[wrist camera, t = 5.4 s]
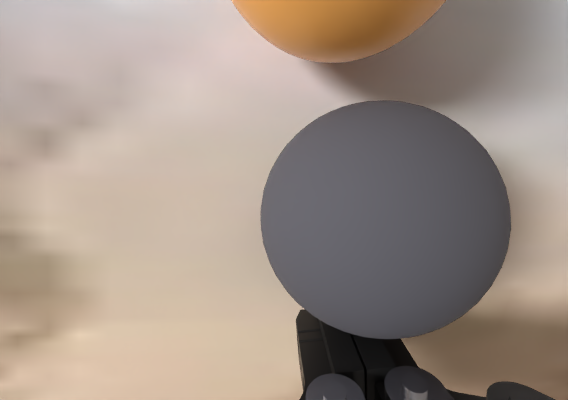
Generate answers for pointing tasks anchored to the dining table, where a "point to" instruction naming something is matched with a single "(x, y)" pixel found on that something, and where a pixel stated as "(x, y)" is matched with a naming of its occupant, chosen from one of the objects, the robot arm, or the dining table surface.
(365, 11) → the orange ball
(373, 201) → the gray ball
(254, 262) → the dining table surface
